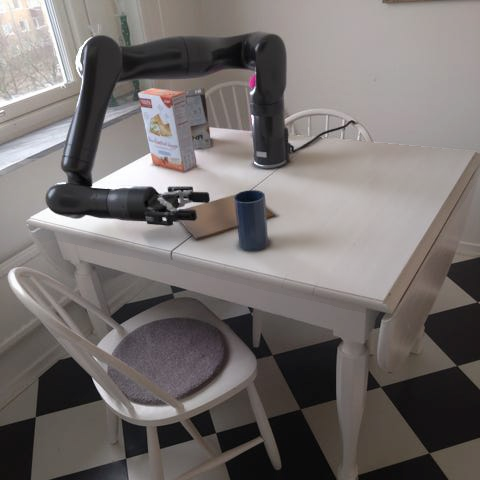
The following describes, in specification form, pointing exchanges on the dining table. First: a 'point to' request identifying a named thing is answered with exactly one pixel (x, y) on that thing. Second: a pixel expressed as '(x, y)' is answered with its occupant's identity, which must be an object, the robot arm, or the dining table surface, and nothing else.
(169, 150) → the cracker box
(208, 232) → the desk mat
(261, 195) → the pen holder
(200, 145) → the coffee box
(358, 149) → the dining table surface
